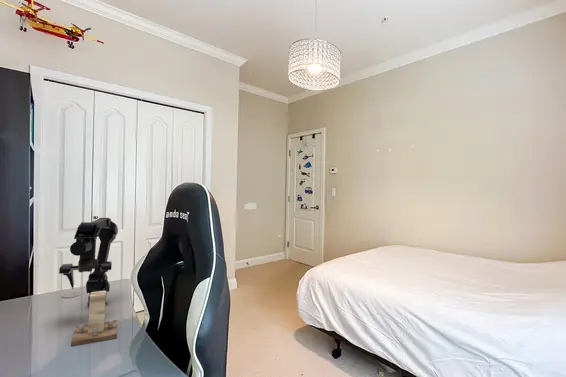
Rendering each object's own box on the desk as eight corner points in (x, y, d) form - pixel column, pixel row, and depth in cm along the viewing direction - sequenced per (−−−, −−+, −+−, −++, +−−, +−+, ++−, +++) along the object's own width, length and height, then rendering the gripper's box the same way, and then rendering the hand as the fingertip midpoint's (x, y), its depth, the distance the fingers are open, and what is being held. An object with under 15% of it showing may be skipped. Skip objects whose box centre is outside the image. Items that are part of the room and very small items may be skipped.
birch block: (89, 328, 114) (91, 292, 114) (104, 326, 117) (106, 290, 117) (87, 333, 110) (90, 296, 110) (103, 331, 112) (105, 294, 113)
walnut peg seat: (75, 329, 116) (76, 319, 116) (116, 323, 123) (117, 313, 123) (71, 346, 103) (71, 334, 104) (116, 338, 110) (117, 327, 110)
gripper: (57, 256, 117) (55, 295, 116) (112, 253, 126) (110, 289, 125) (62, 251, 126) (60, 287, 126) (112, 248, 135) (110, 282, 135)
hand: (85, 287), depth 128 cm, fingers open, 9 cm apart
